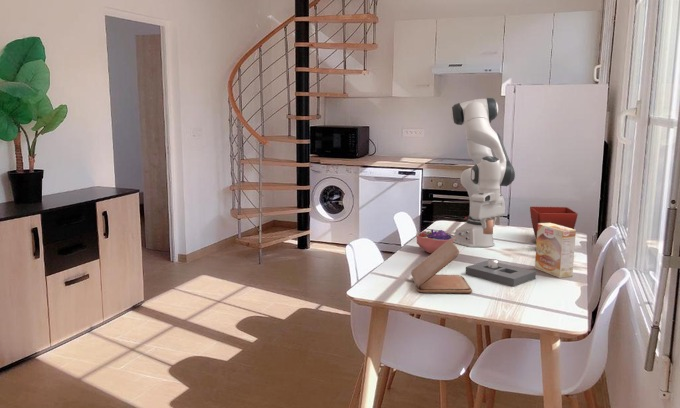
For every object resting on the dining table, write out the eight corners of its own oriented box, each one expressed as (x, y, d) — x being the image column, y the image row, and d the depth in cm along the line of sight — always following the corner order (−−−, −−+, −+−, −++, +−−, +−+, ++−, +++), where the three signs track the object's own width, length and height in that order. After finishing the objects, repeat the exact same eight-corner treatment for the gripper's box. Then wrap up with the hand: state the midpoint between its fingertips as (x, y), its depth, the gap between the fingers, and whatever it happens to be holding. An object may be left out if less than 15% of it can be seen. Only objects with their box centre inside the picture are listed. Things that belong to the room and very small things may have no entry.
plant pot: (535, 245, 275) (537, 212, 273) (527, 237, 294) (529, 206, 291) (575, 247, 273) (578, 213, 270) (565, 238, 292) (567, 207, 289)
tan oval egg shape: (481, 233, 237) (481, 219, 236) (486, 232, 240) (487, 218, 239) (489, 234, 234) (489, 220, 233) (494, 233, 237) (495, 219, 236)
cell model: (433, 246, 274) (434, 223, 272) (462, 254, 257) (463, 230, 255) (406, 250, 265) (407, 227, 263) (435, 259, 248) (436, 235, 246)
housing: (465, 273, 226) (465, 266, 226) (488, 267, 237) (488, 260, 236) (513, 286, 210) (514, 279, 209) (535, 278, 220) (536, 271, 220)
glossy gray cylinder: (485, 274, 226) (486, 259, 225) (491, 272, 229) (491, 258, 228) (494, 276, 223) (494, 262, 222) (499, 274, 226) (500, 260, 225)
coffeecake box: (533, 268, 235) (536, 223, 232) (547, 266, 238) (550, 222, 234) (558, 278, 221) (562, 230, 218) (573, 276, 224) (576, 229, 221)
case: (410, 277, 221) (411, 238, 219) (463, 278, 221) (464, 239, 218) (415, 294, 201) (416, 251, 198) (473, 295, 200) (475, 252, 198)
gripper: (496, 192, 243) (495, 223, 245) (468, 196, 230) (467, 229, 232) (509, 193, 239) (508, 225, 241) (481, 198, 225) (480, 231, 228)
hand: (488, 227), depth 236 cm, fingers closed on tan oval egg shape, 4 cm apart
